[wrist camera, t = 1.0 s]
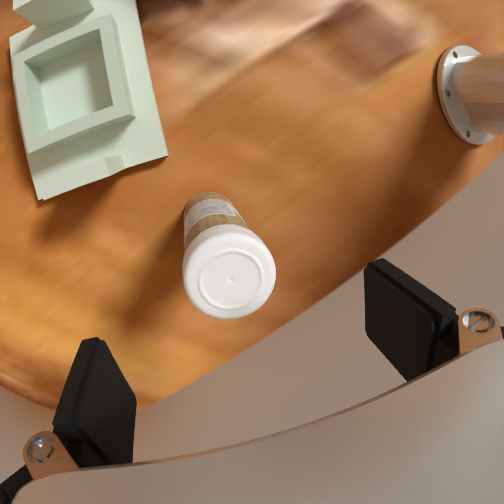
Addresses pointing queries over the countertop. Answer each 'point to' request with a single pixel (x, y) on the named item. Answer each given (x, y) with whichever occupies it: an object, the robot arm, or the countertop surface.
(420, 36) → the countertop surface
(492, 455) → the robot arm
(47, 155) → the caddy
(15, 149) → the countertop surface
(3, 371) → the countertop surface
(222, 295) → the sprinkles bottle
